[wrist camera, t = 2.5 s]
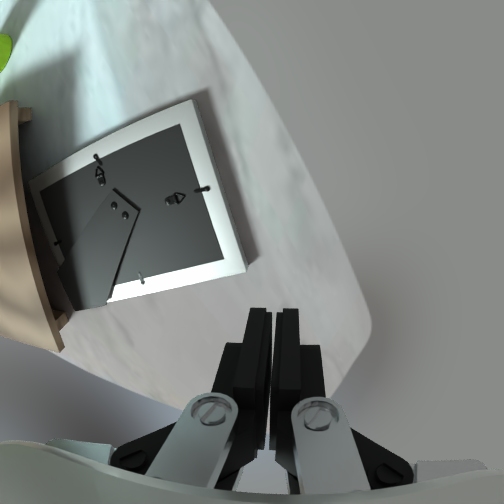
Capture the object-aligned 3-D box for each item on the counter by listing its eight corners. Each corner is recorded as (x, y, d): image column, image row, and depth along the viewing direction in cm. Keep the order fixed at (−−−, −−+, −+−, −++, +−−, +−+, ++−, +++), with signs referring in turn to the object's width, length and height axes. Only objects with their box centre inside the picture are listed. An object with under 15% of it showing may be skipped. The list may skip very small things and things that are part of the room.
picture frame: (87, 299, 34) (249, 262, 30) (75, 311, 31) (245, 275, 27) (39, 178, 29) (198, 101, 25) (23, 183, 26) (188, 97, 22)
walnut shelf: (-12, 126, 26) (-47, 131, 20) (48, 101, 25) (9, 100, 19) (24, 313, 36) (-2, 335, 30) (85, 324, 34) (59, 352, 29)
